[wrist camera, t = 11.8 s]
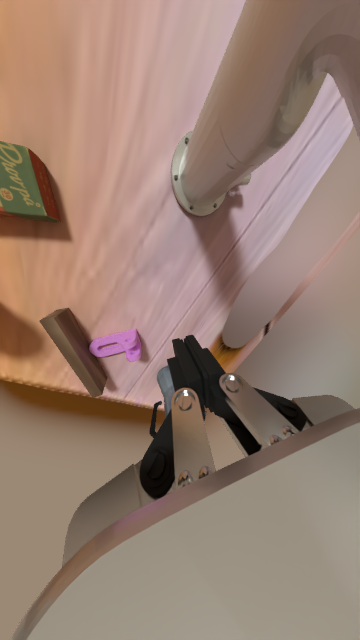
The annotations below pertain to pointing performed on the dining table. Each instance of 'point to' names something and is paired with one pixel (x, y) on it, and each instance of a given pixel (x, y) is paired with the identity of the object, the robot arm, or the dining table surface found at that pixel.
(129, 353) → the bracket
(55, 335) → the walnut board
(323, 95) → the dining table surface
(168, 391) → the moka pot
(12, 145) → the carton
